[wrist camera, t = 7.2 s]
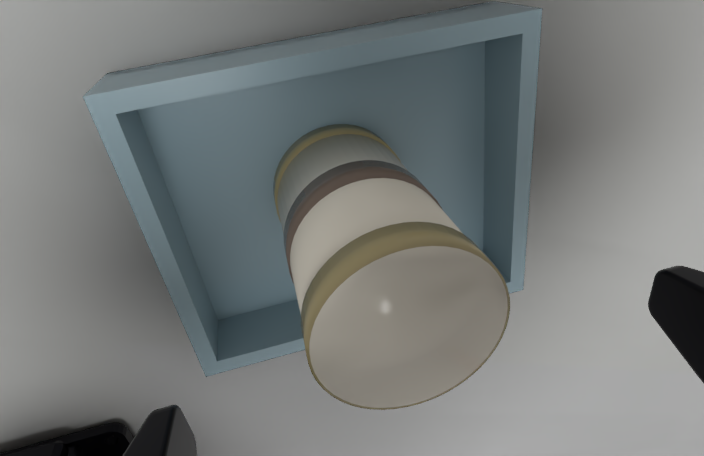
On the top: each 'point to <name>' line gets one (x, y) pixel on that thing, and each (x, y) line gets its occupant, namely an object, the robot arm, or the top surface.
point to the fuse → (382, 274)
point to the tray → (299, 119)
